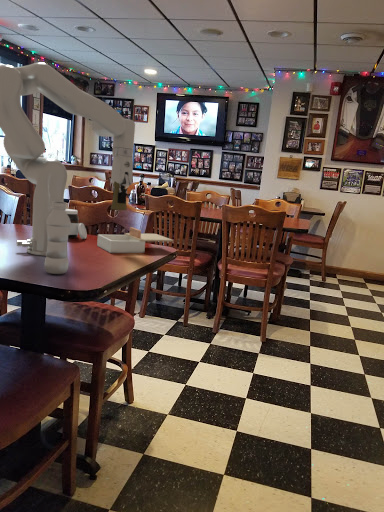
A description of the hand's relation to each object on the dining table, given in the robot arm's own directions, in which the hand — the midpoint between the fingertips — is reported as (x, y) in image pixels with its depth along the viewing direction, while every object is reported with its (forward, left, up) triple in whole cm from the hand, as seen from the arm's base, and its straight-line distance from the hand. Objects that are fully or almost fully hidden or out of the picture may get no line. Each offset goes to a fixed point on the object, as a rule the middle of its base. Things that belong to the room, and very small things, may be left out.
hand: (119, 202), depth 153 cm
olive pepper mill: (0, 0, -3) cm, 3 cm away
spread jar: (-9, +25, -19) cm, 33 cm away
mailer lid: (+14, 0, -14) cm, 20 cm away
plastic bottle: (-31, -33, -19) cm, 49 cm away
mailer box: (+2, 0, -18) cm, 19 cm away
